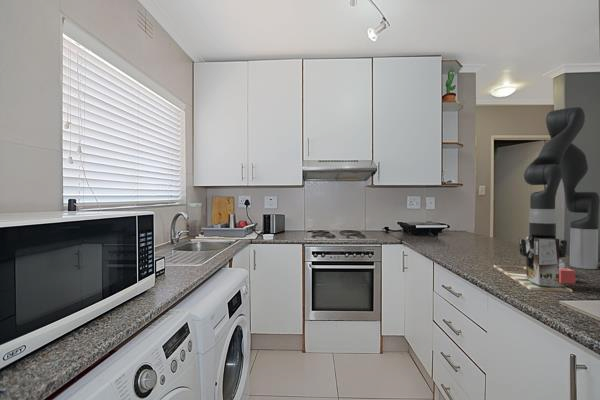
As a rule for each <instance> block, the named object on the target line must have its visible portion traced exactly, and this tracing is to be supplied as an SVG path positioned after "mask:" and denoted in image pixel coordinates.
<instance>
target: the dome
mask: <svg viewBox="0 0 600 400" xmlns="http://www.w3.org/2000/svg"><path fill="white" fill-rule="evenodd" d="M559 268H566V266H565V262H563V259H561V258H559Z"/></svg>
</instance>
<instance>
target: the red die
mask: <svg viewBox="0 0 600 400" xmlns="http://www.w3.org/2000/svg"><path fill="white" fill-rule="evenodd" d="M576 273H577V272H576V270H573V269H570V268H568V267H567V268H566V267H565V268H559V284H561V283H562V284H576Z"/></svg>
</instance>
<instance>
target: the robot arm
mask: <svg viewBox="0 0 600 400" xmlns="http://www.w3.org/2000/svg"><path fill="white" fill-rule="evenodd" d="M582 108H583V107H580V106H575V107H567V108H561V109H555V110H551V111H549V112H547V115H546V118H545V124H546V129H547V132H548V135H549V137H550V139H549V140H547V142H545V144H544V145H543V146H542V148H541V150H540V152H539V154H538V156H537V157H536V158H535V159H534V160H533V161H532V162H531V163H530V164H528V166H527V167H526V169H524V170H525V171H524V172H523V173H524V174H523V179H524V181H525V183H526V184H528V185H530V186H543V185H544V186H546V187H545V188H544V189H543V190H540V191H533V192H532V193H530V198H529V200H530V201H529V202H530V203H529V205H530V207H529V208H530V209H529V215H528V217H529V219H528V220H529V221H528V222H529V223H528V224H529V226H528V227H529V229H528V231H529V232H528V236H529V238H528V239H526V238H518V246H519V255H521V256H523V257H525V259H526V260H525V261H526V263H525V266H526V265H527V266H528V268H530V269H533V258H532V257H533V255H534V249H531V248H529V249H528V252H526V245H527V243H528V242H529V243H530V244H532V246H533V244H534V238H556V237H557V213H556V197H557V191H558V189H559V186H560V183H561V182H562V185H563V191H564V198H565V206H566V209H567V210H568V211H569V212H570V213H575V214H576V213H577V214H578V213H579V214H583V213H584V214H587V216H585V217H583V218H580V219H575V220H572V221H571V222H570V225H569V227H570V230H569V234H570V235H569V240H570V241H569V266H570V267H573V268H577V269H582V270H583V269H585V270H597V269H598V268H599V267H598V266H599V216H600V215H599V213H600V195H599V193H598V192H595V191H576V190H575V189H576V187H577V186H578V184H580V182H581V181H582V180H583V178H584V177H585V176H586V174H587V172H588V170H589V165H588V160H587V156H586V154H585V153H584V152H583V150H582V149H580V148H579V147H578V146H576V145H575V144H573V143H572V142H573V141H574V140H575V138H576V137H577V136H578V134H580V132H581V130H582V129H583V127H584V124H585V122H586V121H585V120H586V116H585V111H584V109H582ZM556 239H557V238H556ZM567 242H568V240H566V239H560V240H559V259H561V258H565V257H566V254H567Z"/></svg>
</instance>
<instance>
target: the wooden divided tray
mask: <svg viewBox="0 0 600 400" xmlns="http://www.w3.org/2000/svg"><path fill="white" fill-rule="evenodd" d="M493 267H494V268H495V269H496V270H498V271H500V272H502V273H503V274H505V275H506V276H508V277H509V278H511V279H513V280H514V281H515V282H517V283H518V282H519V283H518V284H520V285H521V286H523V287H525V288H526V289H528V290H530V291H541V292H543V291H545V292H546V291H547V292H560V293H561V292H563V293H573V289H571V288H569V287H567V286H565V285H563V284H561V283H559V286H541V285H537V284H535V283H534V282H532V281H529V280H527V279H526V276H527V273H526V272H525V271H509V270H504V269H503V268H506V269H507V268H508V269H523V270H526V265H525V266H523V265H502V264H500V265H499V264H493Z"/></svg>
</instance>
